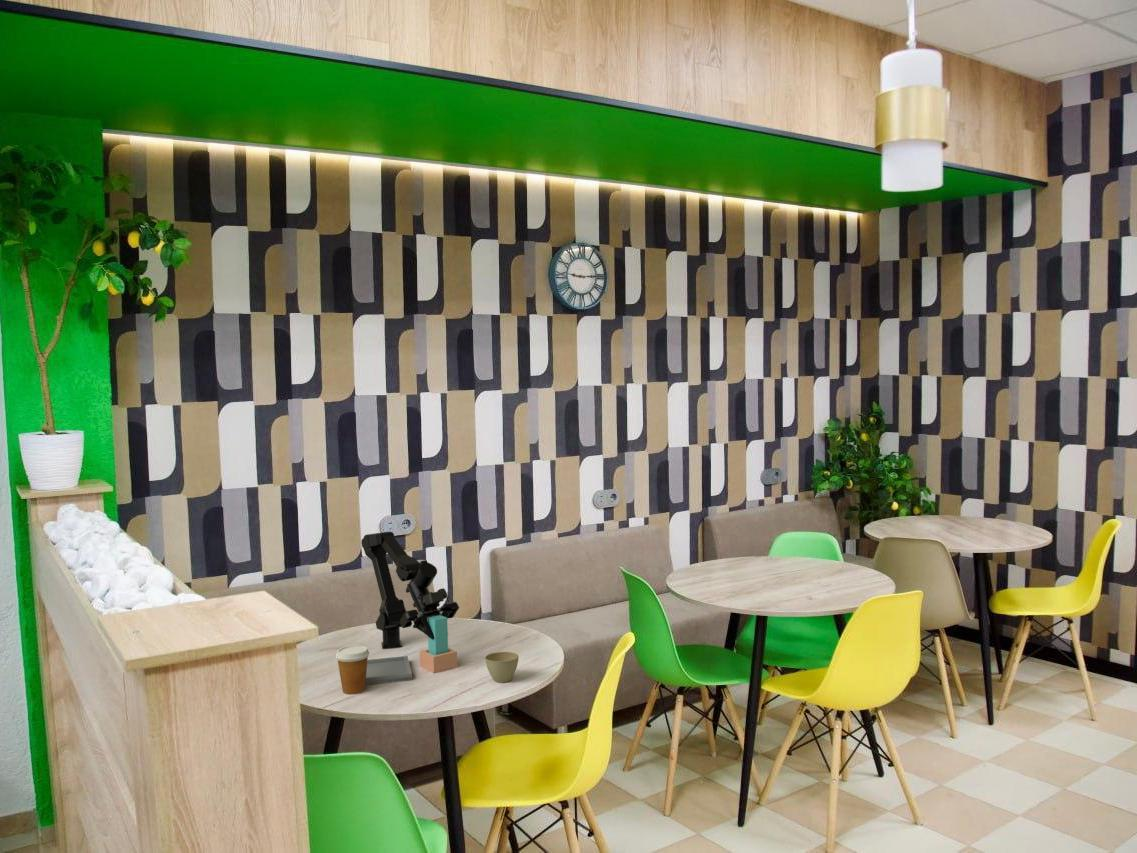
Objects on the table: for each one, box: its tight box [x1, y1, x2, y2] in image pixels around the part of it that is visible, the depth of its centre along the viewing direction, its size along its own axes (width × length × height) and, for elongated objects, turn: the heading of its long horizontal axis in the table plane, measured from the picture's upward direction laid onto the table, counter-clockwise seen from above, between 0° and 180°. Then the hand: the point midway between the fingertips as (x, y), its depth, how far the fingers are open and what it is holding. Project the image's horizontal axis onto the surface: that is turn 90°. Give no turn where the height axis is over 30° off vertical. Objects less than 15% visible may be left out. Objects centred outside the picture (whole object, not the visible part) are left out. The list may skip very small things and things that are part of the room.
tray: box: [365, 655, 413, 686], centre depth 280 cm, size 18×16×2 cm
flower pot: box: [484, 651, 519, 683], centre depth 271 cm, size 10×10×7 cm
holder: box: [419, 647, 458, 674], centre depth 285 cm, size 8×8×5 cm
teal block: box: [427, 615, 449, 655], centre depth 284 cm, size 4×4×12 cm
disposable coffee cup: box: [335, 645, 370, 695], centre depth 265 cm, size 10×10×12 cm
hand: (440, 637), depth 283 cm, fingers closed on teal block, 4 cm apart
